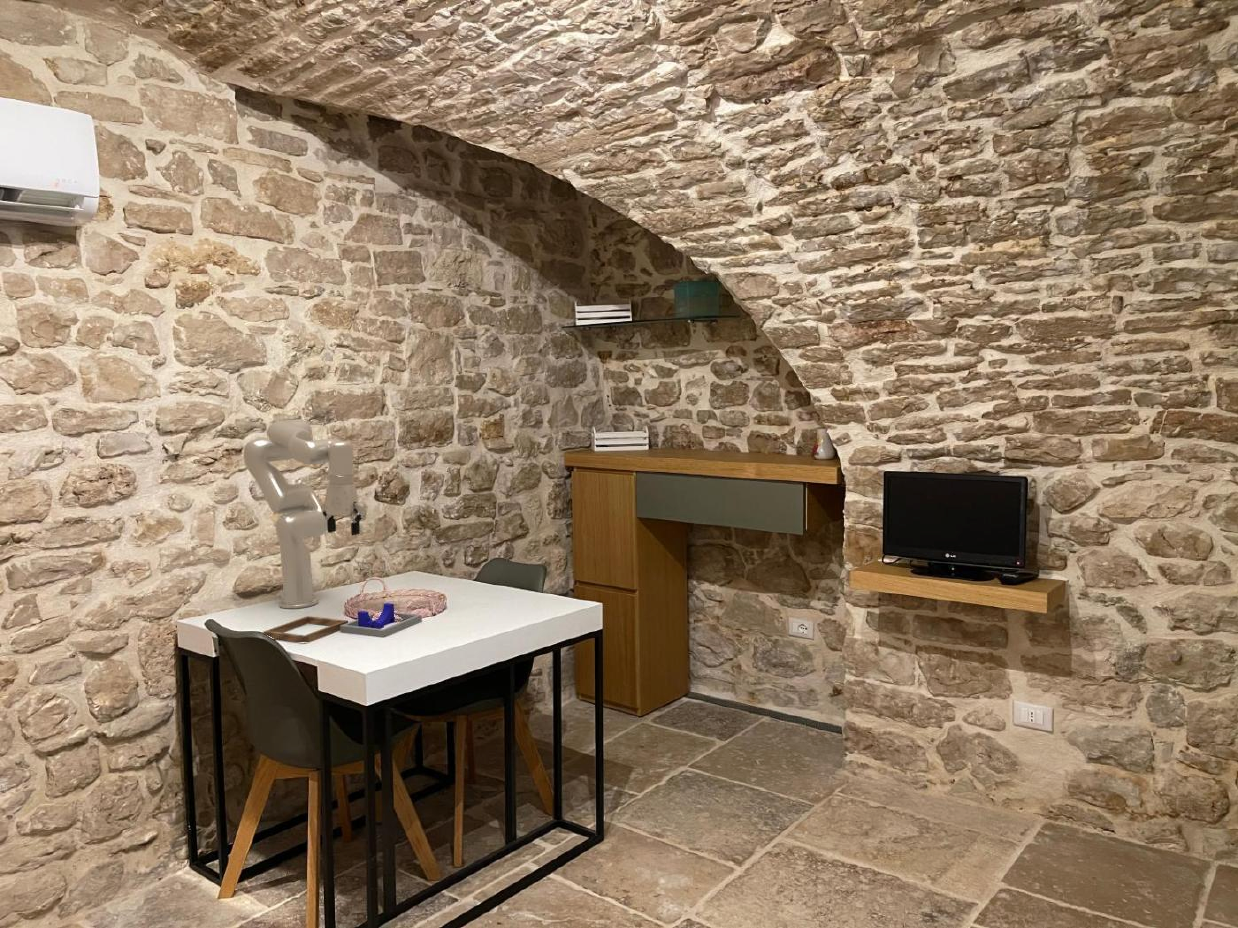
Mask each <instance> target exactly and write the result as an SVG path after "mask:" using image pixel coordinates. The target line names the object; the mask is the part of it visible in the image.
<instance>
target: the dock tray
mask: <svg viewBox="0 0 1238 928" xmlns="http://www.w3.org/2000/svg"><path fill="white" fill-rule="evenodd" d="M382 611H383V610H378V611H376V612H377V613H379V612H382ZM394 614H395V615H398V616H399V617H401V618H402V619H403V620H404V621H403V620H401V621H399V622H397V623H395V624H392V625H389V626H388V627H386V628H385V627H384V628H381V629H376V628H367V627H359V626H358V618H357V619H354V620H352V621H348V623H346V624H343V625H341V626H340V633H345V634H351V635H352V634H354V635H361V636H368V637H369V636H371V637H378V638H386V637H388V636H390V635H392V634H395V633H398V632H400V631H403V630H404V629H407V628H410V627H412V626H415V625H416V624H419V623H421V622H423V619H422V618H423V617H422V614H415V613H404V612H396V611H394ZM374 615H375V614H372V613H371V614H369V617H370V619H371V620H372V618H373V616H374Z"/></svg>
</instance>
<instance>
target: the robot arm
mask: <svg viewBox="0 0 1238 928" xmlns="http://www.w3.org/2000/svg"><path fill="white" fill-rule="evenodd" d="M266 436H267V437H259V438H254V439H251V440H249V441H248V442H247V443H245V445H244V447H243V453H242V454H243V460H244V464H245V466H246V468H247V470H248V472H249V473H250V475H251V476H252V477H253V478H254V480H255V481H256V483H257V484H258V487H259V488H260V490H261V493H262V494H263V497H264V499H265V501H266V503H267V505H268V507H269V508H270V510H271V511H272V512H273V513H275V514H276V515H280V516H279V517H278V518H277V519H276V521H275V526H274V527H275V531H276V536H277V539H278V544H279V551H280V552H279V553H280V564H281V565H280V566H281V576H282V577H281V578H282V590H279V592H278V593H277V594H276V597H277V598H281V600H280V601H279V603H278V605H279V607H280V608H283V609H301V608H307V607H312V606H314V605H317V604H318V603H319V598H318V597H315V596H314V591H313V590H314V588H313V576H312V575H313V574H312V561H311V552H310V549H309V547H308V546H307V544H306V543H305V542H304V540H306V539H311V538H316V537H320V536H323V535H324V534H326V533H330V534H331V533H334V532H337V523H336V518H335V517H341V518H348V517H349V519H350V520H351V523H350V531H351V533H350V534H351V536H356V535H357V536H358V535H359V534H360V533H361V532H360V522H362V519H363V518H364V515H365V513H366V509H365V507H363V506H362V505H360V504H359V499H358V491H357V488H356V487H357V486H356V484H355V478H354V476H355V475H354V451H353V450H354V449H353V444H352V442H351V441H347V440H340V439H338V438H326V439H325V438H324V439H323V438H322V439H314V440H313V430H312V427H311V425H310V424H309V422H308V421H306V420H305V419H299V418H298V419H284V420H283V419H282V420H277V421H273V422H272V423H271V424H269V426H268V427H267V429H266ZM292 459H293V460H295V461H296V462H298V463H302V464H304V465H318V464H326V463H327V464H328V476H327V480H328V482H329V483H328V484H327V485H326V491H325V502H324V503H323V504H322V503H321V502H320V500H319V498H318V496H317V494H316V491H314V489H313V488H312V487H311V486H310V485H308V484H305V483H295V484H289V483H288V482H287V481H286V478H285V476H284V475H283V473H282V472H281V470H279V469H278V468H277V467H275V466H274V465H272V464H270V462H279V461H288V460H292Z"/></svg>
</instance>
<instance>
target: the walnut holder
mask: <svg viewBox="0 0 1238 928" xmlns="http://www.w3.org/2000/svg"><path fill="white" fill-rule="evenodd" d="M346 623H349V620H347V619H337V618H335V619H334V618H328V617H321V616H320V617H319V616H311V615H310V616H309V615H307V616H304V617H301V618H298V619H295V620H293V621H290V622H287V623H284V624H281V625H279V626H274V627H273V628H270V629H267V630H264V631H262V632H263V633H262V635H263V634H265V635H268V636H270V637H272V638H274V639H275V641H281V640H282V641H284V642H290V643H291V642H292V643H297V642H308V643H310V642H313V641H316V640H319V639H321V638H324V637H327V636H329V635H331V634H335V633H337V632H339V631H340V626H341V625H343V624H346ZM309 624H310V625H318V626H326V627H324V628H321V629H319V630H316V631H313V632H311V633H308V634H305V635H304V634H297V633H289V631H291V630H292V631H293V630H294V629H297V628H300V627H302V626H306V625H309ZM287 632H288V633H287ZM340 632H341V631H340ZM274 639H273V640H274ZM282 641H281V642H282Z"/></svg>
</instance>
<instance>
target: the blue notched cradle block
mask: <svg viewBox="0 0 1238 928" xmlns="http://www.w3.org/2000/svg"><path fill="white" fill-rule="evenodd" d="M382 606H383V607H382V610H381V611H382V613H381V615H380V617H379V618H378V619H377V620H374V621H372V620H371V619H370V617H369V615H370V614H369V611H365V610H358V611H357V619H358V626H359V627H367V628H376V629H385V626H387V625H390V624H393V623H396V620H395V617H394V612H395V603H391V602H385V603H383V605H382Z"/></svg>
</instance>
